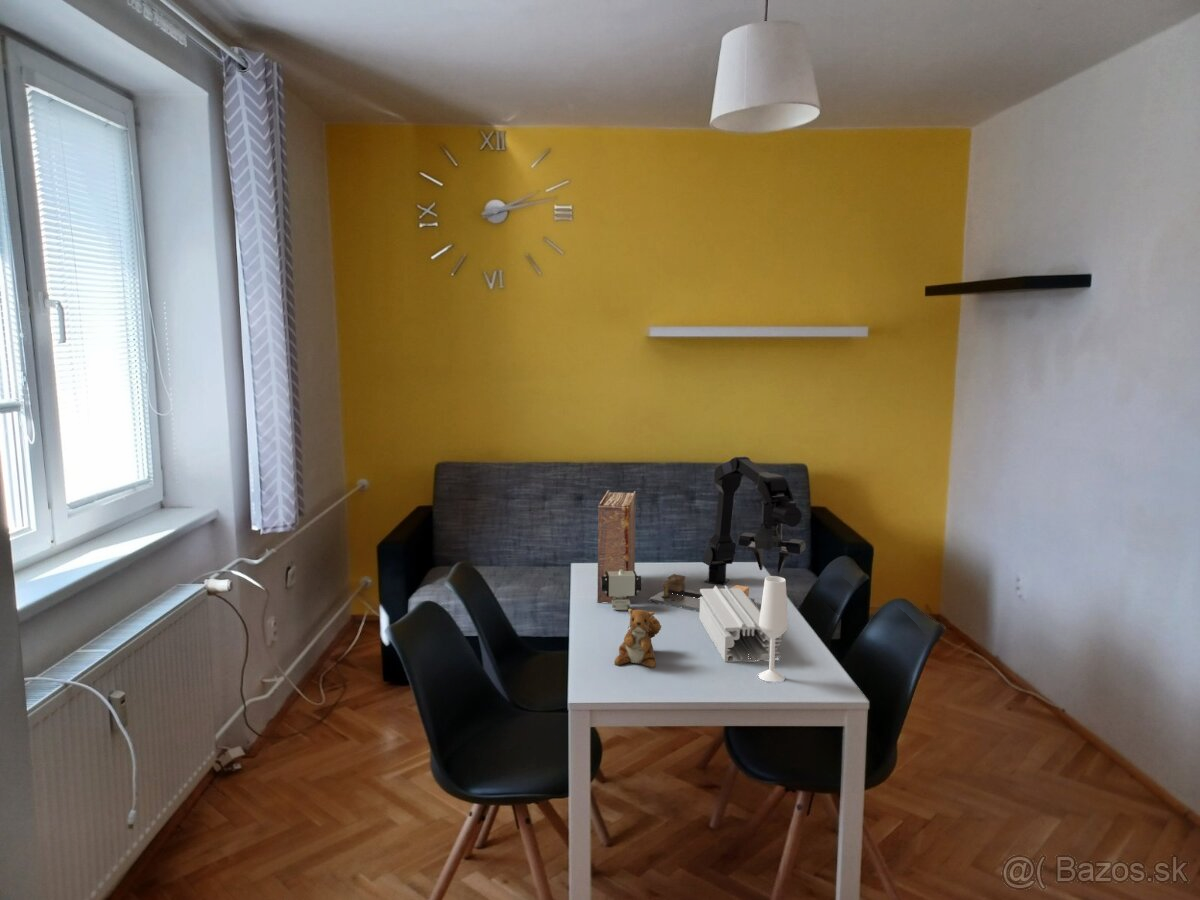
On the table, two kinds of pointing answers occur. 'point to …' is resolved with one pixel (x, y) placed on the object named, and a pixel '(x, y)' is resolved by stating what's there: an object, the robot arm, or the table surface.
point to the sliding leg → (743, 589)
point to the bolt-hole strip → (677, 601)
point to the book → (615, 536)
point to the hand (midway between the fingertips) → (770, 571)
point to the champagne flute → (773, 619)
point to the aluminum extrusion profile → (734, 625)
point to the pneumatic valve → (620, 587)
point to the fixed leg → (674, 583)
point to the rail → (690, 593)
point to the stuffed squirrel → (639, 639)
